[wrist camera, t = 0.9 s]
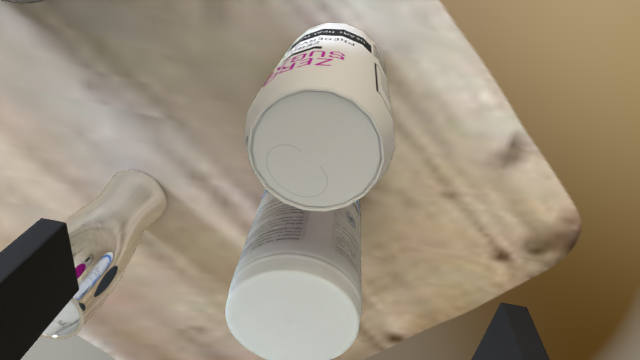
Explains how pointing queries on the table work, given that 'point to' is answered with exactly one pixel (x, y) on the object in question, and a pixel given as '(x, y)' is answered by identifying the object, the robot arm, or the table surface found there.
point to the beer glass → (106, 244)
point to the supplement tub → (298, 282)
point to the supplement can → (322, 121)
